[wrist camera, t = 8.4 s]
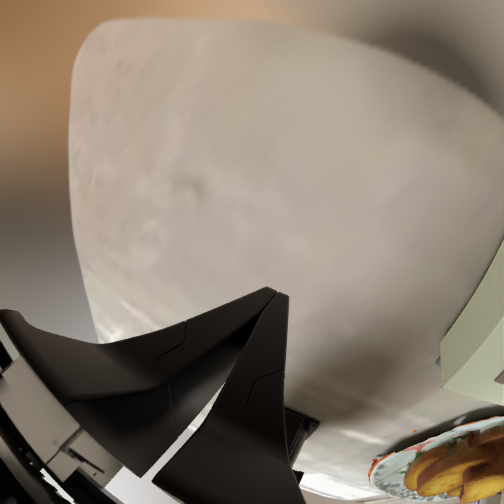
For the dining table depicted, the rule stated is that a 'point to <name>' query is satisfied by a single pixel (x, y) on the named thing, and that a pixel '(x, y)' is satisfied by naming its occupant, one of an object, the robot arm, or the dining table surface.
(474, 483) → the food on plate
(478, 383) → the sage block
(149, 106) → the dining table surface
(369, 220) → the dining table surface
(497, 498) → the beverage can
